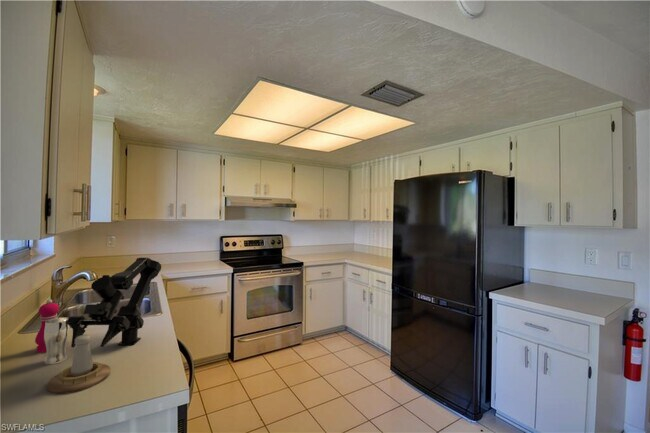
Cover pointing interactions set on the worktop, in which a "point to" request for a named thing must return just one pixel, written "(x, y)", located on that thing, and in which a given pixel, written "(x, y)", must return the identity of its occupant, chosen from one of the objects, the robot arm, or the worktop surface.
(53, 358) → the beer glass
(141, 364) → the worktop surface
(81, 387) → the ring tray
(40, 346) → the pepper mill
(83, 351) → the salt shaker
